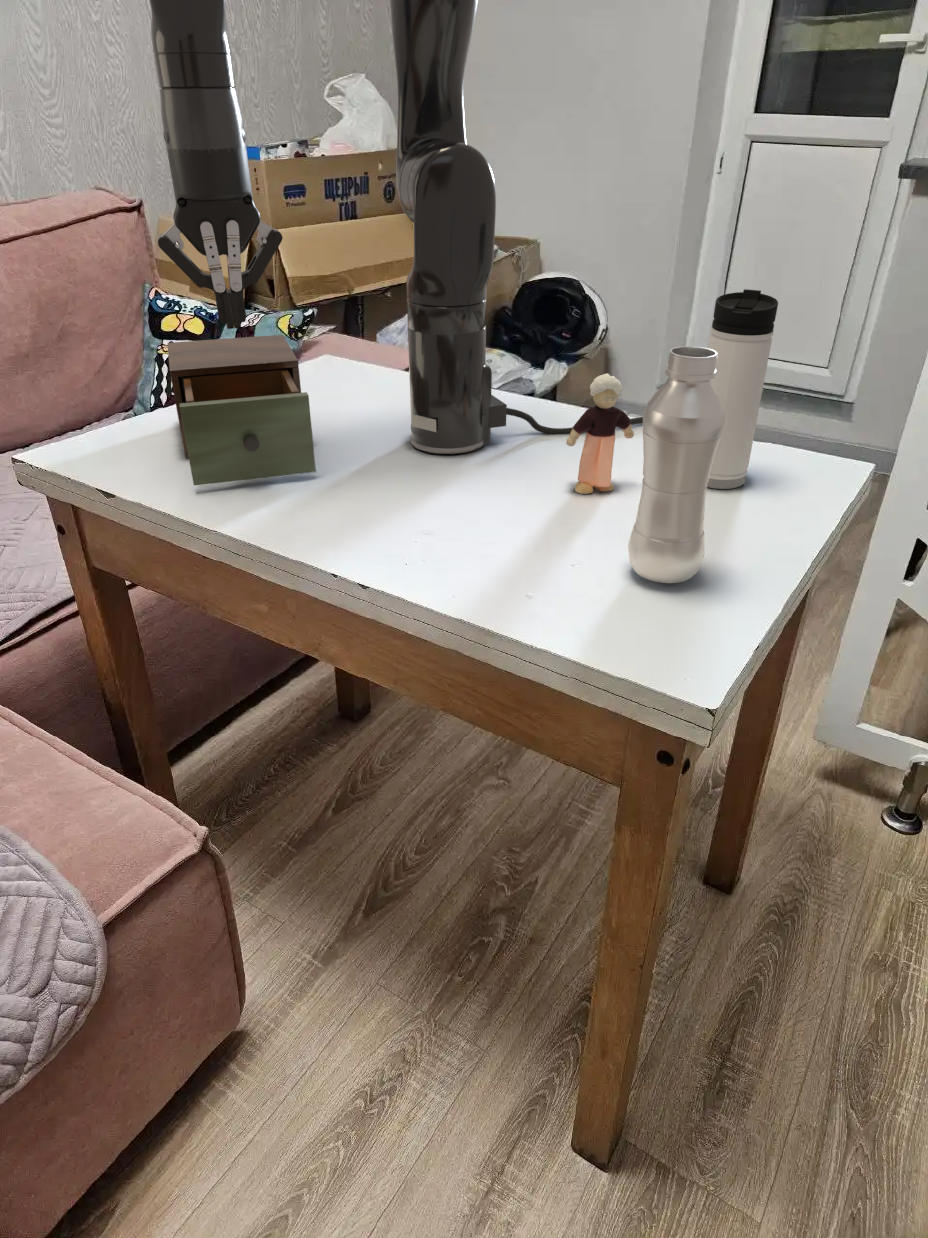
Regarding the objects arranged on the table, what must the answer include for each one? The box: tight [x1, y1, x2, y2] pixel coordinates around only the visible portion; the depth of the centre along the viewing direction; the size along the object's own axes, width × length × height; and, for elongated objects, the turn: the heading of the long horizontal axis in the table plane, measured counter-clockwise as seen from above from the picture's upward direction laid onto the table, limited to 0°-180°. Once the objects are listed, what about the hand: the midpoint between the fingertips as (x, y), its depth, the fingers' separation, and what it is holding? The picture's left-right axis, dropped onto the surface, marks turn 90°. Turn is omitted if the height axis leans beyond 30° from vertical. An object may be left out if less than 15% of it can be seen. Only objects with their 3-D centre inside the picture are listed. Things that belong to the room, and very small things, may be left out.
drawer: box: [180, 368, 317, 486], centre depth 96 cm, size 14×13×9 cm
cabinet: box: [166, 334, 302, 460], centre depth 106 cm, size 14×15×11 cm
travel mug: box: [707, 288, 779, 490], centre depth 91 cm, size 6×7×20 cm
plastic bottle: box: [627, 346, 725, 584], centre depth 72 cm, size 6×7×20 cm
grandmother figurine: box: [565, 373, 635, 495], centre depth 91 cm, size 8×4×13 cm, turn 117°
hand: (233, 326), depth 91 cm, fingers closed
